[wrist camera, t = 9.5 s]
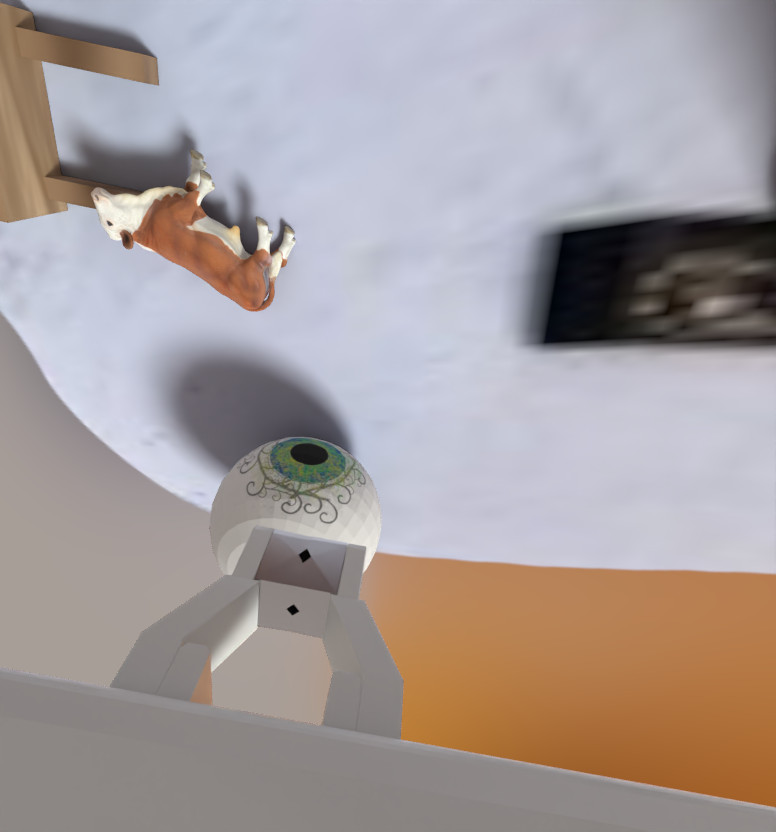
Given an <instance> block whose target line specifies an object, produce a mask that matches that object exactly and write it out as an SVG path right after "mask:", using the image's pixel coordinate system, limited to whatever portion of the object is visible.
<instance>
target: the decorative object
mask: <svg viewBox="0 0 776 832" xmlns="http://www.w3.org/2000/svg"><path fill="white" fill-rule="evenodd" d="M256 525H258V526H262V527H267V528H272V529H278V530H282V531H287V532H291V533H296V534H300V535H305V536H310V537H311V536H312V537H318V538H324V539H329V540H335V541H340V542H346V543H347V545H348V543H350V544H355V545H361V546H366V549H367V551H366V557H365V563H364V570H363V573H364V571H365V570H366V569H367V567H368V565H369V563H370V562H371V560H372V558H373V556H374V553H375V551H376V548H377V545H378V541H379V537H380V531H381V508H380V501H379V497H378V494H377V491H376V488H375V486H374V484H373V481H372V479H371V478H370V476H369V475H368V473H367V472H366V471H365V469H364V468H363V466H362V465H361V464H360V463H359V462H358V461H357V460H356V459H355V458H354V457H353V456H352V455H351V454H350V453H348V452H347V451H345V450H344V449H342V448H341V447H339V446H337V445H334V444H332V443H330V442H328V441H324V440H320V439H317V438H311V437H302V436H301V437H287V438H283V439H279V440H275V441H271V442H268V443H266V444H264V445H261V446H259V447H257V448H255V449H254V450H253V451H251V452H250V453H248V454H247V455H246V456H244V457H243V458H242V459H240V460H239V461H238V462H237V463H236V464H235V465H234V467H233V468H232V469H231V470H230V472H229V473H228V474H227V476H226V477H225V478H224V479H223V481H222V482H221V485H220V487H219V489H218V492H217V494H216V497H215V499H214V501H213V504H212V511H211V518H210V528H209V529H210V536H211V543H212V549H213V553H214V555H215V557H216V559H217V562H218V564H219V566H220V568H221V570H222V572H223V573H224V575H226V574H227V575H232V573H233V571H234V569H235V567H236V565H237V562H238V560H239V558H240V556H241V554H242V551H243V549H244V547H245V545H246V543H247V540H248V538H249V536H250V534H251V532H252V530H253V528H254V527H255V526H256Z"/></svg>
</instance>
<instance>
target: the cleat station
mask: <svg viewBox="0 0 776 832" xmlns="http://www.w3.org/2000/svg"><path fill="white" fill-rule="evenodd" d="M41 61H44V62H49V63H54V64H59V65H63V66H68V67H73V68H77V69H82V70H87V71H91V72H96V73H101V74H105V75H110V76H115V77H120V78H124V79H129V80H134V81H138V82H143V83H148V84H154V85H159V80H158V66H157V58H155V57H151V56H148V55H144V54H140V53H135V52H131V51H126V50H121V49H117V48H112V47H107V46H103V45H98V44H93V43H89V42H84V41H79V40H75V39H70V38H65V37H61V36H56V35H52V34H47V33H42V32H38V31H36V28H35V23H34V17H33V13H32V12H29V11H26V10H23V9H20V8H16V7H13V6H10V5H7V4H3V3H0V221H2V222H7V223H9V222H14V221H19V220H24V219H28V218H33V217H38V216H43V215H48V214H52V213H57V212H62V211H67V210H68V208H67V203H70V204H75V205H80V206H84V207H89V208H94V209H96V206H95V203H94V201H93V198H92V196H91V192H92V191H93V190H94V189H95V188H97V187H99V188H103V189H105V190H106V191H107V192H108V193H110V194H112V195H117V194H125V193H128V194H132V195H136V196H138V195H140V194H142V193H143V192H142V191H137V190H132V189H127V188H122V187H117V186H112V185H108V184H103V183H98V182H93V181H88V180H83V179H78V178H74V177H69V176H64V175H62V174H61V169H60V163H59V158H58V152H57V146H56V141H55V135H54V130H53V124H52V118H51V113H50V107H49V101H48V96H47V90H46V85H45V79H44V73H43V68H42V62H41Z"/></svg>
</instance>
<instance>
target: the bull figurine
mask: <svg viewBox="0 0 776 832" xmlns="http://www.w3.org/2000/svg"><path fill="white" fill-rule="evenodd" d="M190 153H191V157H192V165H191V175H190V177H189V178H188V179H187V181H186V183H185V189H182V188H176V187H172V186H165V187H162V188H160V187H156V188H152V189H148V190H146V191H145V192H143V193H142V194H140V195H138V196H136V195H132V194H128V193H125V194H117V195H112V194H110V193H108V192H107V191H106V190H105V189H103V188H99V187H97V188H95V189H94V190H93V191H92V192H91V196H92V198H93V201H94V203H95V206H96V209H97V212H98V216H99V219H100V222H101V224H102V226H103V228H104V229H105V230H106V232H107V233H108V235H109V237H110V238H111V239H113V240H122V242H123V246H124V247H125V248H126V249H132V248H133V241H134V242H136V243H137V244H138V245H139V246H141V247H142V248H144V249H146V250H149V251H152V252H156V253H158V254H160V255H162V256H163V257H165V258H166V259H168V260H169V261H171V262H173V263H176V264H178V265H180V266H182V267H184V268H186V269H188V270H189V271H191V272H192V273H194V274H195V275H197V276H198V277H200V278H202V279H203V280H204V281H206V282H207V283H209V284H210V285H211V286H212V287H213V288H215V289H216V290H217V291H218V292H220V293H221V294H223V295H225V296H227V297H228V298H230V299H231V300H233V301H235V302H236V303H237V304H239V305H240V306H241V307H243V308H244V309H246V310H248V311H261V310H264V309H265V308H267V307H268V306H269V305H270V304H271V302H272V301H273V298H274V282H275V280H276V277H277V275H278V273H279V270H280V268H281V267H284V266H286V264H287V258H288V255H289V253H290V251H291V249H292V247H293V245H294V244H295V243H296V240H295V239H293V237H294V231H293V230H292V229H291V228H290V227H288V226H285V228H284V236H283V242H282V244H281V246H280V247H279V248H278V249H277V250H276V251H274V252H272V253H270V241H271V238H272V235H273V231H269V230H268V224H267V222H266V221H265V220H264V219H262V218H260V217H256V222H257V229H258V235H259V241H258V246H257V249H256V251H255V253H254V254H253V255H250V254H249V253H247V252H246V251H245V250H244V248H243V246H242V244H241V241H240V229H239V227H238V226H236V225H234V226H233V227H232V228H230V229H229V228H227V227H226V226H224V225H223V224H221V223H219V222H217V221H215V220H213V219H211V218H210V217H208V216H207V215H206V214H205V212H204V211H203V209H202V207H201V205H200V204H201V201H202V199H203V197H204V196H205V195H206V194H208V193H209V192H210V191H213V190H214V189H215V186H214V185H215V184H214V183H213V182H212V181H211V180H212V179H211V176H210V174H208V173H207V172H205V171H204V170H205V169H206V167H207V166H206V163H205V162H203V155H202V154H200V153H199V152H197V151H196V150H193V149H191V150H190ZM269 291H270V292H269ZM268 292H269V297H268V299H267V300H265V301H264V299H265V298H266V296H267V295H268Z"/></svg>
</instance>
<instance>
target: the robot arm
mask: <svg viewBox="0 0 776 832" xmlns="http://www.w3.org/2000/svg"><path fill="white" fill-rule="evenodd" d="M366 551H367V549H366V546H361V545H355V544H350V543H348V545H347V543H346V542H340V541H335V540H329V539H324V538H318V537H312V536H311V537H310V536H305V535H300V534H296V533H291V532H287V531H282V530H278V529H272V528H267V527H262V526H258V525H256V526H255V527H254V528H253V530H252V532H251V534H250V536H249V538H248V540H247V543H246V545H245V547H244V549H243V551H242V554H241V556H240V558H239V560H238V562H237V565H236V567H235V569H234V571H233V573H232V575H227V574H226V575H224V576H223V577H221V578H220V579H218V580H217V581H216V582H214V583H213V584H211V585H210V586H208V587H207V588H205V589H204V590H202V591H201V592H199V593H198V594H196V595H195V596H194V597H192V598H191V599H189V600H188V601H186V602H185V603H184V604H182V605H181V606H179V607H177V608H176V609H175V610H173V611H172V612H170V613H169V614H167V615H166V616H164V617H163V618H162V619H160V620H159V621H157V622H156V623H154V624H153V625H151V626H150V627H148V628H147V629H145V630H144V631H142V633H141V634H140V636H139V638H138V639H137V641H136V643H135V644H134V646H133V648H132V650H131V651H130V653H129V655H128V656H127V658H126V660H125V661H124V663H123V665H122V666H121V668H120V670H119V671H118V673H117V675H116V677H115V678H114V680H113V682H112V683H111V685H110V687H107V686H102V685H96V684H91V683H85V682H79V681H74V680H69V679H63V678H58V677H52V676H46V675H41V674H35V673H30V672H25V671H18V670H13V669H8V668H2V667H0V832H776V807H770V806H765V805H760V804H754V803H748V802H743V801H737V800H732V799H726V798H721V797H715V796H710V795H704V794H699V793H693V792H688V791H682V790H676V789H671V788H665V787H660V786H654V785H649V784H643V783H638V782H632V781H627V780H621V779H615V778H610V777H605V776H599V775H594V774H587V773H582V772H577V771H571V770H565V769H560V768H555V767H549V766H544V765H538V764H533V763H527V762H522V761H516V760H510V759H505V758H499V757H494V756H488V755H483V754H477V753H472V752H466V751H461V750H455V749H450V748H444V747H439V746H433V745H427V744H422V743H417V742H411V741H405V740H401V739H400V738H401V721H402V701H403V683H404V682H403V679H402V677H401V675H400V673H399V670H398V669H397V667H396V664H395V662H394V660H393V658H392V656H391V654H390V652H389V650H388V648H387V646H386V644H385V642H384V640H383V638H382V636H381V634H380V632H379V630H378V627H377V626H376V623H375V622H374V619H373V617H372V615H371V613H370V611H369V609H368V607H367V605H366V603H365V601H364V600H360V599H359V595H360V589H361V588H360V587H361V582H362V576H363V570H364V563H365V557H366ZM257 626H258V627H264V628H271V629H277V630H284V631H290V632H295V633H299V634H304V635H309V636H313V637H318V638H322V639H323V644H324V647H325V650H326V653H327V656H328V659H329V662H330V665H331V668H332V671H333V675H332V678H331V683H330V688H329V692H328V696H327V701H326V706H325V711H324V715H323V719H322V724H321V725H318V724H312V723H306V722H301V721H295V720H290V719H284V718H279V717H273V716H268V715H262V714H257V713H251V712H246V711H240V710H234V709H229V708H224V707H218V706H213V704H212V681H211V672H212V671H213V670H215V669H216V668H217V666H219V665H220V664H221V663H222V662H223V661H224V660H225V659H226V658H227V657H228V656H229V655H230V654H231V653H232V652H233V651H234V650H235V649H236V648H237V647H239V646H240V644H242V643H243V642H244V641H245V640H246V639H247V638H248V637H249V636H250V635H251V634H252V633H253V632H254V631H255V630H256V629H257Z"/></svg>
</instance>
